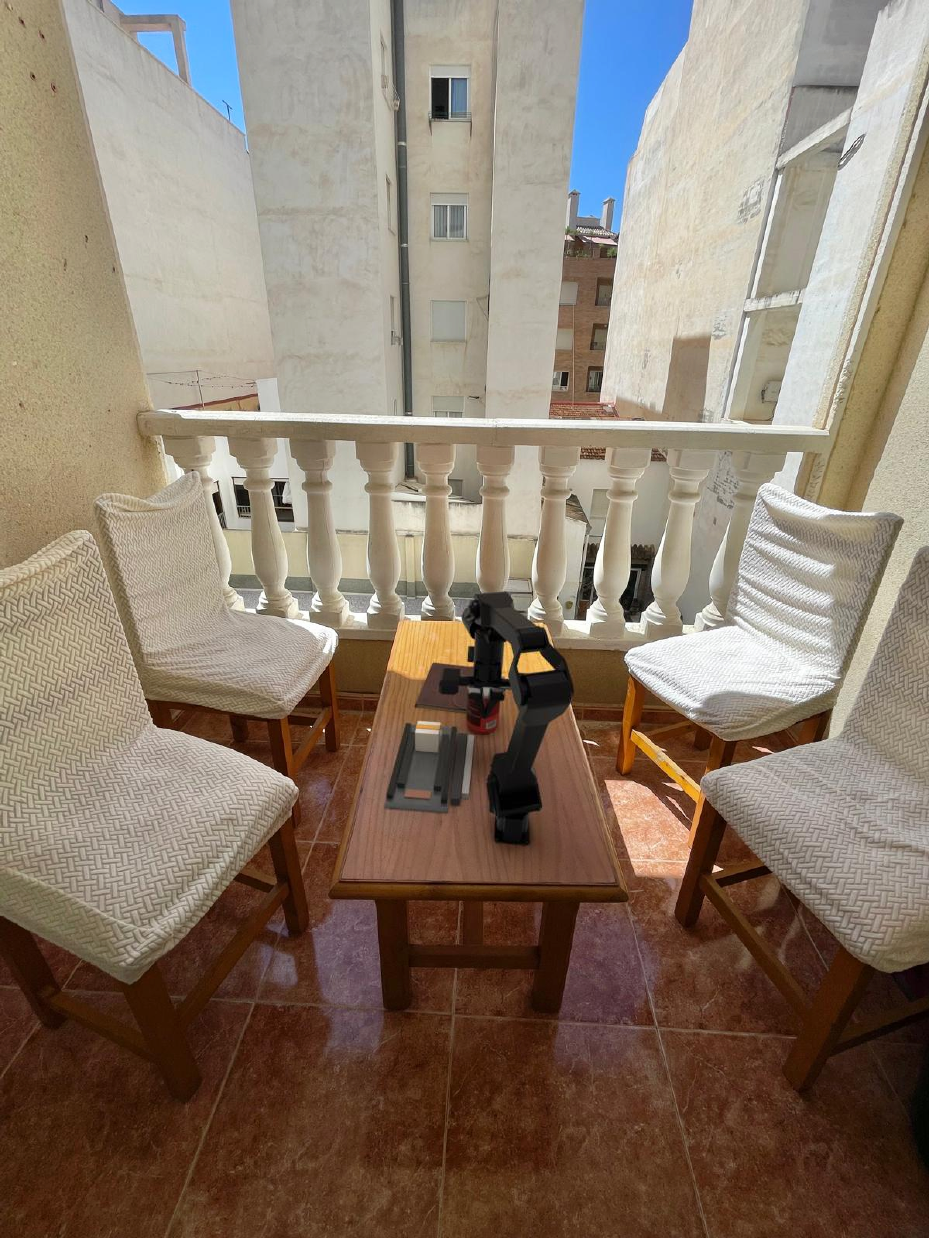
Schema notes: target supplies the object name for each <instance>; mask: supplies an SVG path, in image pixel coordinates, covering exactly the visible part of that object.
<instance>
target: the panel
mask: <svg viewBox="0 0 929 1238" xmlns="http://www.w3.org/2000/svg"><path fill="white" fill-rule="evenodd" d="M416 726H417V724H412V723H411V722H406V723H405V725H404V728H403V733H402V736H401V739H400V744H399V747H398V750H397V753H396V757H395V761H394V765H393V769H392V772H391V776H390V779H389V783H388V785H387V790H386V796H385V802H384V803H385V804H384V805H385V806H384V807H385V808H386V809H399V810H409V811H422V812H434V813H435V812H436V813H445V814H446V813H447V812H448V806H449V802H450V801H449V799H450V794H451V785H452V780H453V773H454V765H455V763H454V762H455V758H456V757H455V756H456V751H457V743H458V736H459V731H458V730H459V728H458V726H453V725H452V726H451V727H450V726H449V727H448V726H447V727H446V726H441V729H440V745H439V751H438V753H436V752H423V751H415V731H416Z"/></svg>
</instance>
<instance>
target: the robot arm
mask: <svg viewBox="0 0 929 1238" xmlns="http://www.w3.org/2000/svg"><path fill="white" fill-rule="evenodd" d="M514 604H515V603H514V599H513V597H512V596H511V595H510V594H509V592H507V591H504V590H503V591H491V592H481V593H474V594H473V599H470V601H469V603H468V604H467V605H468V606H467V607H466V608H465V609H464V610H463V612H462V614H461V622H462V623H463V625H464V628H465V629H466V631H467V633H468V634H469V637H470V638H471V639H473V640H474V645H468V647H467V657H466V659H467V663H473V676H461V669H452V668H444V669H443V670H442V671H441V676H440V681H439V693H441V694H447V695H455V694H456V693H458V692H459V686H468V698H469V699H473V701H474V702H475V704H476V705H477V707H478V709H479V711H480V713H481V716H482V718H483V719H487V718H488V716H489V714H490V713H491V711H492V709H493V708H494V707H495V706H496V704H497V703H498V702H499V701H500V702H503V701H505V699H506V697H505V694H506V693H505V692H506V690H510V691H511V694H512V697H513V701H514V703H515V705H516V708H517V709H518V714H517V717H516V721H515V723H514V726H513V727H514V728H513V730H512V734H511V737H510V739H509V743H508V746H507V750H506V751H504V752H500V753H499V752H498V753H494V755H493V756H492V761H491V762H492V763H491V764H490V769H489V774H487V777H486V783H485V785H486V793H487V800H488V807H487V808H488V812H489V813H490V814H493V815H494V827H493V828H494V833H493V842H494V843H496V844H507V845H508V844H509V845H519V846H521V845H522V846H529V845H530V842H531V839H530V838H531V837H530V817H529V816H530V813H534V812H541V811H542V808H543V802H542V797H541V792H540V786H539V782H538V777H537V774H536V770H535V768H534V767H533V765H534V763H535V761H536V759H537V755H538V754H539V750H540V748H541V745H542V744H543V743H542V742H543V740H544V737H545V734H546V732H547V729H548V726H549V724H550V723H551V722H553V721H554V720H556V719H557V718H559V717H560V716H562V715H563V714H565V712H566V711H567V709H568V708H569V706H570V704H571V703H572V699H573V697H574V694H575V693H574V692H575V689H574V688H575V687H574V683H573V678H572V677H571V672H570V670H569V667H568V664H567V660H566V659H565V658H564V656H563V654H561V653H560V652H559V651H558V650H557V649H556V648H555V646H553V644H552V643H551V642H550V639H549V637H548V633H547V632H548V631H547V630H546V628H545V627H543V626H540V625H536V624H535V623H534V622H532V621H531V620H530V619H529V618H527V616H525V615H523V614H522V613H520V612H519V610H517V609H516V608H515V606H514ZM505 643H509V645H510V647H511V651H512V654H513V657H512V661H511V663H510V667H509V670H508V673H507V677H508V678H506V677H505V675H503V667H504V665H503V664H504V653H505V652H504V651H505ZM537 652H538V653H539V655H540V656H541V657H543V659H544V660H545V661H546V662H547V663H548V664H549V665H550V666H551V667H552V668H553V669H549V670H541V671H536V672H519V669H518V665H519V661H520V658H521V655H522V654H529V653H537ZM484 688H490V689H489V694H488V699H487V704H486V709H485V701H484Z"/></svg>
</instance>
